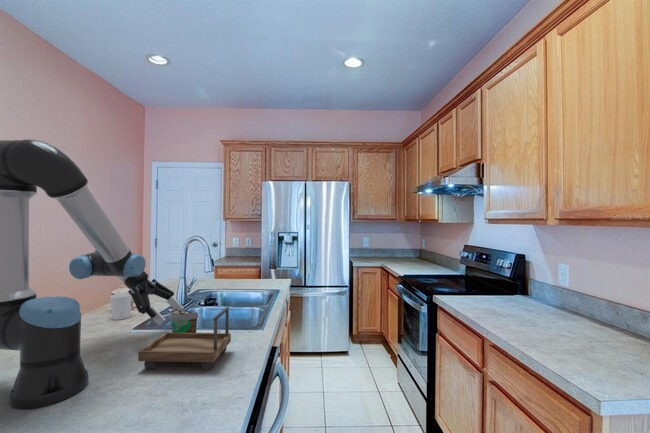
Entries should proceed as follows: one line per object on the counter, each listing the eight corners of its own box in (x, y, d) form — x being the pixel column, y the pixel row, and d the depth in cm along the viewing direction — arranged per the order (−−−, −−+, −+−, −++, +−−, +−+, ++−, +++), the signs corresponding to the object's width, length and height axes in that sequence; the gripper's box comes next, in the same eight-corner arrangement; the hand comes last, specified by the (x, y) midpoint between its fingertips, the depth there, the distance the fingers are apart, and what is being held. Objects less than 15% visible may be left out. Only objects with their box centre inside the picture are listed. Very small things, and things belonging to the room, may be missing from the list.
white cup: (124, 320, 135) (124, 297, 135) (106, 320, 135) (106, 297, 135) (135, 314, 143) (135, 292, 143) (118, 314, 143) (118, 292, 143)
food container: (161, 338, 115) (161, 311, 115) (176, 333, 120) (176, 307, 120) (184, 345, 109) (184, 316, 109) (198, 339, 115) (198, 312, 115)
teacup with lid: (114, 314, 144) (114, 288, 144) (108, 310, 150) (108, 285, 150) (142, 308, 152) (142, 284, 152) (136, 304, 159) (136, 282, 159)
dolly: (213, 373, 90) (213, 319, 90) (138, 372, 90) (138, 318, 90) (231, 350, 105) (231, 305, 105) (166, 349, 105) (166, 304, 105)
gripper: (145, 275, 129) (181, 312, 129) (101, 290, 104) (145, 336, 104) (158, 263, 129) (194, 300, 129) (116, 275, 104) (161, 320, 104)
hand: (172, 316), depth 116 cm, fingers open, 13 cm apart
